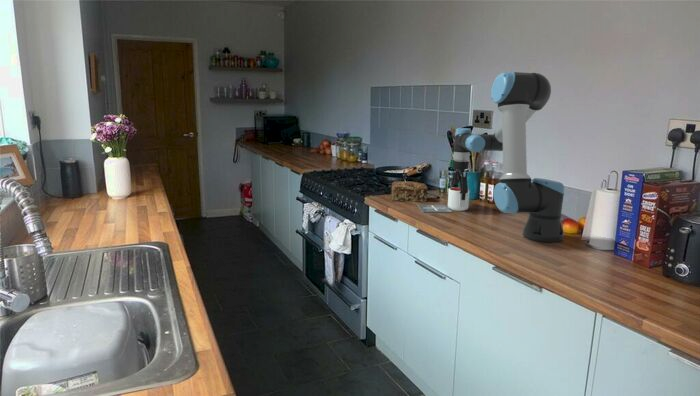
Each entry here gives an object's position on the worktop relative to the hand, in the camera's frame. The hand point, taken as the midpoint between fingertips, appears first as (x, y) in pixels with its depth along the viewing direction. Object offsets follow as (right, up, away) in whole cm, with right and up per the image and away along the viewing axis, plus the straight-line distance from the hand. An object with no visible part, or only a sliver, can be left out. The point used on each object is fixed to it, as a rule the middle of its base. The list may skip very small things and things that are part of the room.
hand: (458, 203), depth 232 cm
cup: (0, -3, 0) cm, 3 cm away
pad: (-12, -3, -1) cm, 12 cm away
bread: (-22, +1, +20) cm, 29 cm away
